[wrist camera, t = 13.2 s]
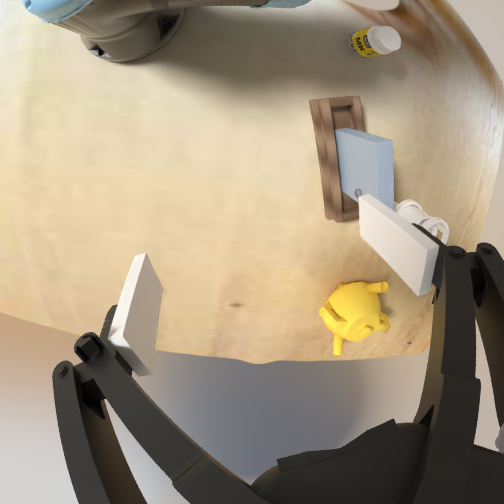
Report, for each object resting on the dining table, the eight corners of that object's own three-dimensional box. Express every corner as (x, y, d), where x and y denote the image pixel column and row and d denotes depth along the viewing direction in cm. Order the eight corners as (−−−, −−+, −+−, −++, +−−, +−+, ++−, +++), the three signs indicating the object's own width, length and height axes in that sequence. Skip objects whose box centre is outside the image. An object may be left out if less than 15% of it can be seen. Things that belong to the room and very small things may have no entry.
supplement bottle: (342, 40, 31) (370, 30, 24) (360, 27, 30) (389, 18, 23) (360, 62, 33) (391, 58, 26) (377, 49, 32) (408, 45, 25)
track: (309, 100, 36) (316, 100, 33) (354, 95, 36) (364, 96, 34) (325, 217, 46) (332, 224, 44) (365, 207, 47) (373, 213, 44)
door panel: (329, 130, 38) (371, 143, 28) (347, 127, 38) (392, 140, 28) (336, 189, 43) (375, 219, 33) (352, 186, 43) (393, 214, 33)
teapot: (332, 250, 50) (359, 286, 41) (394, 267, 56) (422, 298, 46) (290, 327, 59) (305, 366, 49) (352, 333, 64) (370, 366, 55)
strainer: (376, 228, 49) (422, 271, 37) (370, 196, 46) (422, 234, 33) (404, 215, 49) (452, 252, 36) (399, 183, 45) (454, 216, 32)
